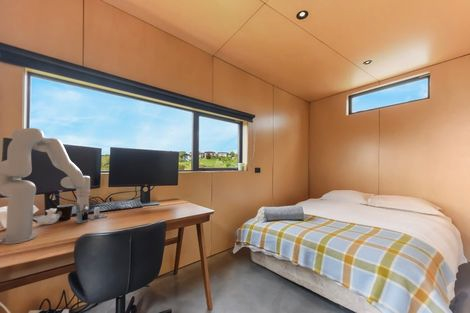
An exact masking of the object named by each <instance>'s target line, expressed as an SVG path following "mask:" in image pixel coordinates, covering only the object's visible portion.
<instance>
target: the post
mask: <svg viewBox="0 0 470 313" xmlns="http://www.w3.org/2000/svg"><path fill="white" fill-rule="evenodd" d="M100 211H101V210H100V207H94V208H93V215H88V220H90V221H91V220H98V219H104V218H107V217H108V216H107V215H105V214H103V213H100Z"/></svg>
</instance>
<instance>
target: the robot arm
mask: <svg viewBox="0 0 470 313" xmlns="http://www.w3.org/2000/svg"><path fill="white" fill-rule="evenodd" d="M11 139H12V140H10V142H9V144H8V146H7V156H6V157H7V158H6V159H5V160H3V161H1V162H0V196H3V197H7V198H8V197H9V200H8V203H7V207H6V227H5V228H6V230H5V232H4V233H3V234H1V235H0V243H1V244H2V245H14V244H20V243H25V242H29V241H31V240H34V239H35V238H36V237H37V233H36V232H35V233H34V232H33V229H34V228H33V227H34V226H33V225H34V221H33V220H34V203H35V197H36V193H37V186H36V185H35V183H34V182H33V181H30V180H25V179H22V178H26V177H28V176H30V175H31V173H32V170H33V167H32V166H33V165H32V150H34V151H39V152H42V153H47V156H48V158H49V159H50V161H51V163H52V166H54V168H56V169H58V170H60V171H62V172H63V173H65V174H66V175H67V176H66V177H63V178H62V179H61V180H60V185H61V186H62V187H63V188H66V189H75V190H76V191H75V193H76V194H75V195H76V205H75V206H76V208H75V209H76V210H77V212H81V211H82V214H83V215H82V221H84V220H88V221H89V219H88V216H89V208H90V204H89V203H90V202H89V201H90V199H89V196H90V195H91V176H89V175H84V174H83V173H82V171H81V170H80V168H79V167H78V166H77V165H76V164H75V163H74V162H72V161H71V159H70V157H69V155H68V153H67V150H66V148H65V146H64V144H63V142H62V140H60V139H58V138H53V137H52V138H49V137H48V138H47V137H45V134H44V131H43V130H41V129H39V128H34V127H33V128H32V127H30V128H29V127H28V128H18V129H15V130H13V131H12V133H11Z"/></svg>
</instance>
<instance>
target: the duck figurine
mask: <svg viewBox="0 0 470 313" xmlns="http://www.w3.org/2000/svg"><path fill="white" fill-rule="evenodd" d="M56 211H57V208H56V209H55V208H49V209H46V210H45V212H46V213H47V214H46V215H43V216H41V217H39V218H38V219H37V224H38V225H39V226H41V225H52V224H55V223H57V222H58V221H59V220H58V219H59V218H60V214H57V213H56Z"/></svg>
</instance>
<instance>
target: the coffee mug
mask: <svg viewBox="0 0 470 313" xmlns="http://www.w3.org/2000/svg"><path fill="white" fill-rule="evenodd" d="M73 207H74V204H71V203H70V204H69V203H65V204H60V205H57V206H56V207H55V208H54V209H57V210H56V213H55V214H60V218H59V219H58V220H57V221H58V222H66V221H67V222H68V221H70V220H71V218H72V213H73Z"/></svg>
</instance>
